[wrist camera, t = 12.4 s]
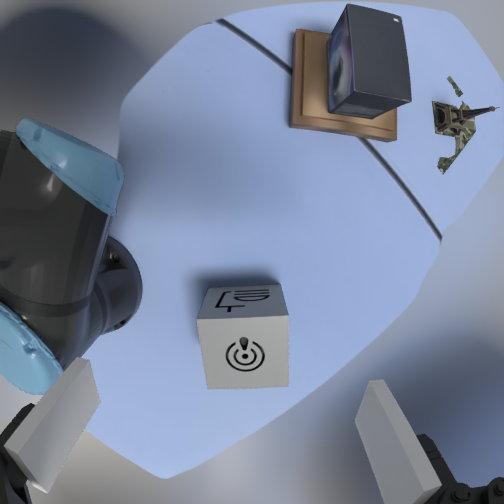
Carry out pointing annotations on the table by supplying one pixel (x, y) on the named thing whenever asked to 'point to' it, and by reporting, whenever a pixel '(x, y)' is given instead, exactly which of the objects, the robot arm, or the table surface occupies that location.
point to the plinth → (326, 95)
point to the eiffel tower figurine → (455, 124)
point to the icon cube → (244, 337)
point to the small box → (367, 63)
